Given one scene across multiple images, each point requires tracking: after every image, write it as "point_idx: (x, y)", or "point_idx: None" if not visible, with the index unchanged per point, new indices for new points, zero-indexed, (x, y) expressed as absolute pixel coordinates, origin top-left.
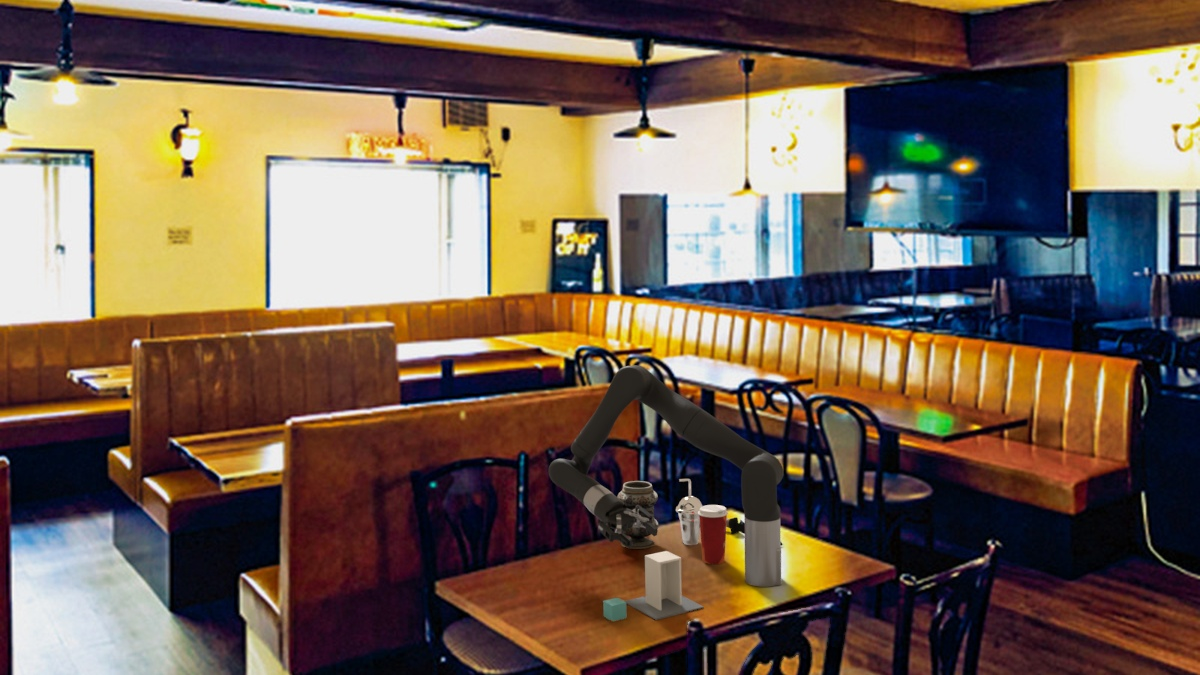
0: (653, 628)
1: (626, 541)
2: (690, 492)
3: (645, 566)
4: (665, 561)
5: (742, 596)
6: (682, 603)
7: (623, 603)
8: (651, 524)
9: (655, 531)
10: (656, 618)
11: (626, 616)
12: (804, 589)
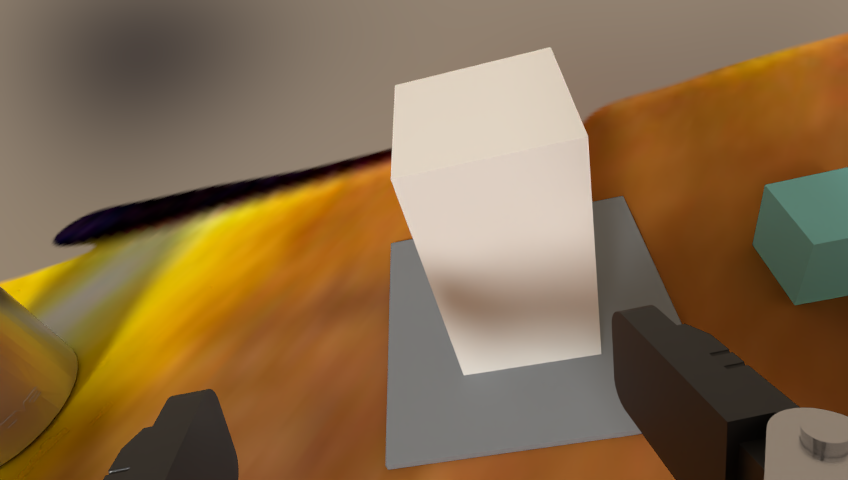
0: (656, 151)
1: (695, 336)
2: None
3: (590, 199)
4: (504, 60)
5: (200, 300)
6: None
7: (782, 183)
8: (129, 477)
9: (216, 397)
10: (617, 197)
11: (753, 239)
12: (22, 290)
